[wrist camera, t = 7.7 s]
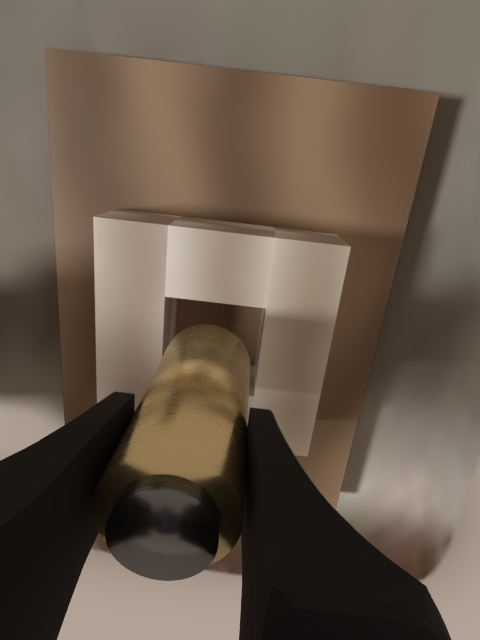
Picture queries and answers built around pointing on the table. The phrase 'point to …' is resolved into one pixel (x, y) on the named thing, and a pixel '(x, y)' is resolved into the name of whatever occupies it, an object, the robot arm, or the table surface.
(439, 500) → the table surface
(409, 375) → the table surface
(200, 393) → the plug
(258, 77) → the wall socket panel
